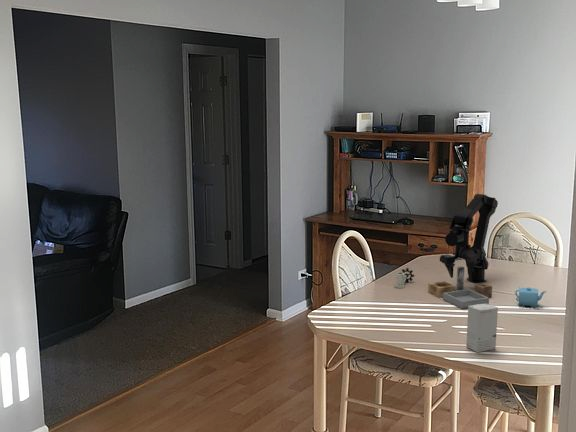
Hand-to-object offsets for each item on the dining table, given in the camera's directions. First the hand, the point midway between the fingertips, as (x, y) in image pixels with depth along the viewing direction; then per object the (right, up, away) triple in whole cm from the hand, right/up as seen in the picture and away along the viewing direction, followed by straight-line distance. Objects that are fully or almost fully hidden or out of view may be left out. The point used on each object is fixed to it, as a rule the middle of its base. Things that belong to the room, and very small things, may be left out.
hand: (460, 276), depth 279 cm
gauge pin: (0, -6, +1) cm, 6 cm away
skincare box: (-10, -19, -63) cm, 66 cm away
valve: (-24, -5, +9) cm, 26 cm away
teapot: (+23, -10, -21) cm, 32 cm away
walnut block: (+7, -8, -9) cm, 14 cm away
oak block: (-10, -7, -5) cm, 13 cm away
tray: (-2, -9, -16) cm, 19 cm away
